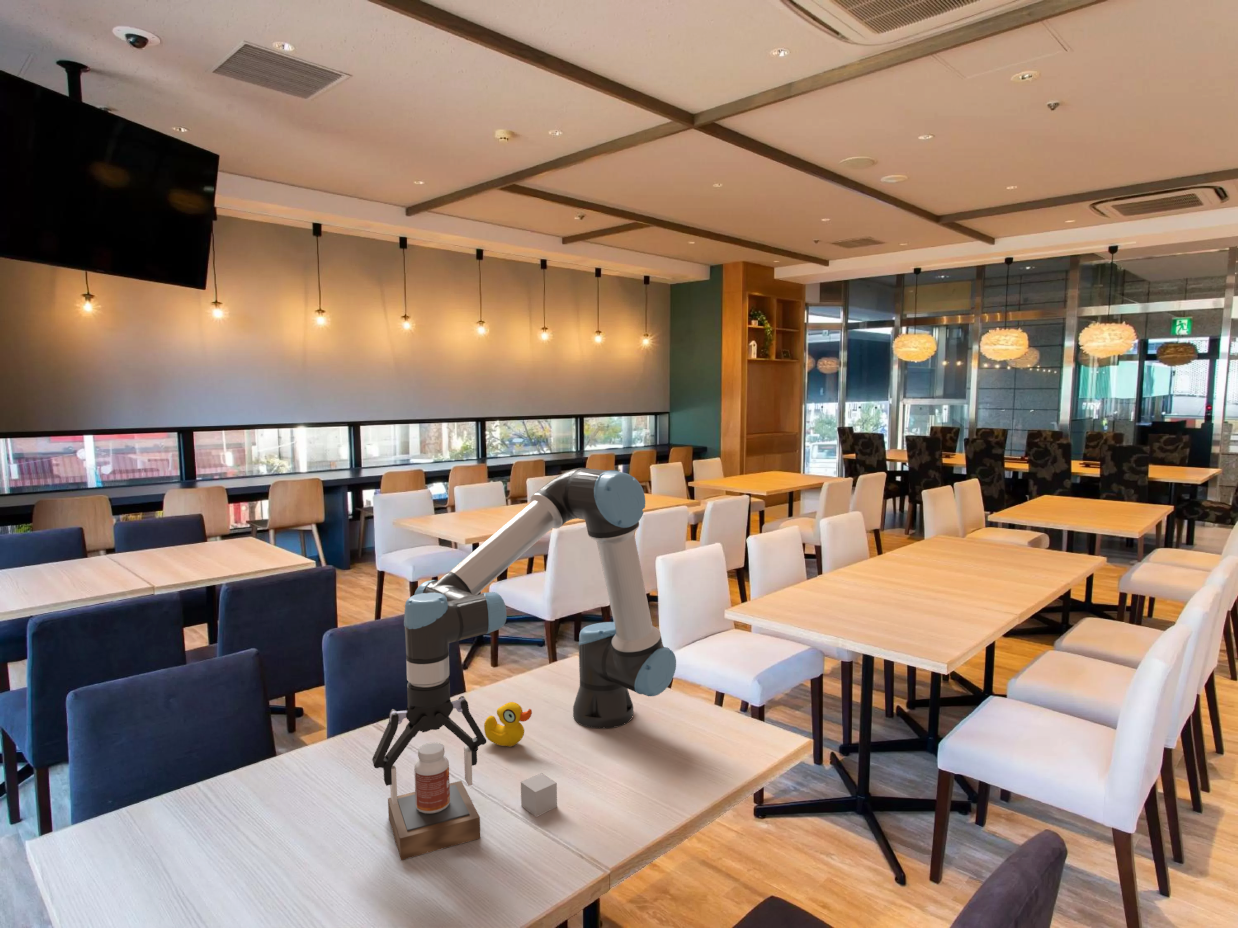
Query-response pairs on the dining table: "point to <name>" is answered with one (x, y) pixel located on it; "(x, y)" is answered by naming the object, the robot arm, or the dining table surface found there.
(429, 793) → the pill bottle
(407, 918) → the dining table surface
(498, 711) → the duckling
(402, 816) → the podium
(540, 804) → the stone block
